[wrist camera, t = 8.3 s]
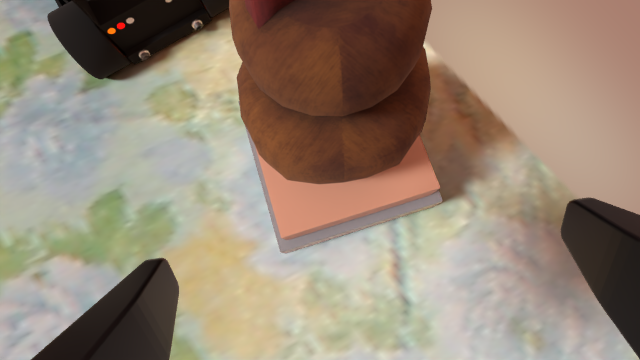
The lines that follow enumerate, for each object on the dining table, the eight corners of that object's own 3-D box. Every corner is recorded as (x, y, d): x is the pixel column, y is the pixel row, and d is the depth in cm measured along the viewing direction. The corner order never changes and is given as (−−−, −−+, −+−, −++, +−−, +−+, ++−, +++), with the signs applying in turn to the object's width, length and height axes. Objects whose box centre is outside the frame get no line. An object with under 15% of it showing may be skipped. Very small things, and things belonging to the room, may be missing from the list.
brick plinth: (433, 206, 22) (454, 194, 18) (285, 253, 22) (274, 251, 18) (382, 72, 24) (390, 35, 20) (247, 114, 24) (228, 85, 20)
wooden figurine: (392, 77, 19) (555, -509, 5) (413, 185, 18) (728, -152, 3) (263, 96, 19) (27, -410, 5) (274, 205, 18) (-1, -35, 4)
